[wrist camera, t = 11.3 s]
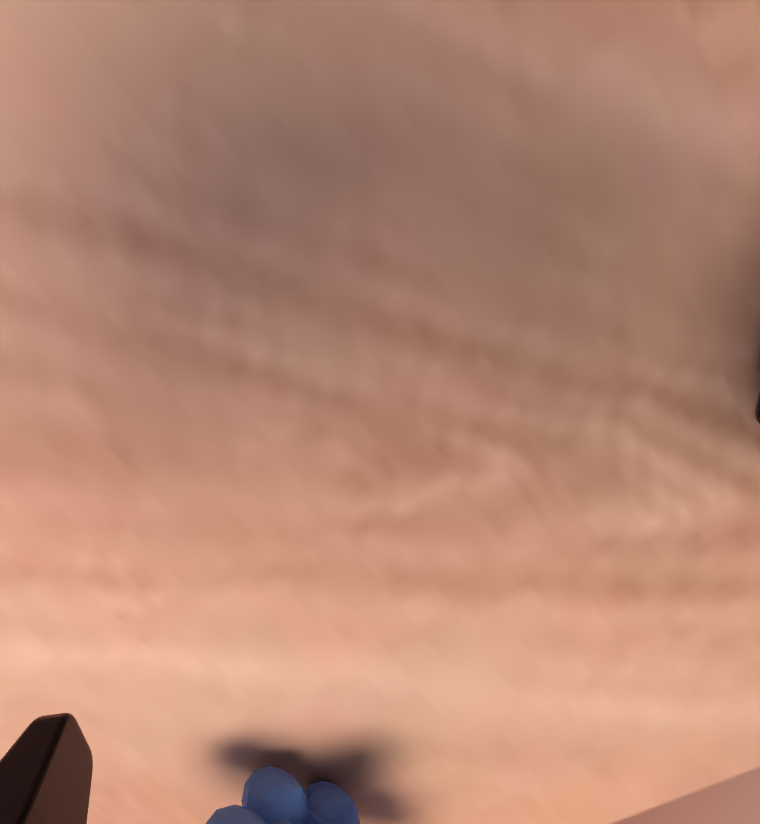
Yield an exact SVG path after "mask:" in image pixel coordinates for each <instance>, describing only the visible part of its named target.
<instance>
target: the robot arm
mask: <svg viewBox="0 0 760 824" xmlns="http://www.w3.org/2000/svg"><path fill="white" fill-rule="evenodd" d="M757 421H758V422H759V424H760V407H759V411H758V415H757ZM92 769H93V760H92V754H91V750H90V747H89V745H88V743H87V741H86V739H85V737H84V735H83V733H82V731H81V729H80V727H79V725H78V723H77V721H76V719H75V717H74V716H73V715H71V714H69V713H61V714H54V715H46V716H41V717H38V718H37V719H35V720H34V721H33V722H32V723H31V724H30V725H29V726H28V727H27V728H26V730H25V731H24V732H23V733H22V735H21V736H20V737H19V738H18V740H17V741H16V742H15V743H14V744H13V746H12V747H11V748H10V749H9V751H8V752H7V753H6V754H5V756H4V757H3V758H2V759H1V760H0V824H86V822H87V814H88V805H89V796H90V787H91V779H92Z"/></svg>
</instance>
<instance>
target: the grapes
mask: <svg viewBox="0 0 760 824" xmlns="http://www.w3.org/2000/svg"><path fill="white" fill-rule="evenodd" d="M206 824H360V820H359V814H358V809H357V806H356V804H355V801H354V800H353V799H352V797H351V796H350V795H349V793H347V792H346V791H345V790H343V789H342V788H341V787H340V786H338V785H336V784H333V783H329V782H326V781H320V782H316V783H313V784H309V785H308V786H307V788H306V789H305V790H304V789H303V787H302V785H301V784H300V782H299V781H298V779H296V778H295V777H294V776H293V775H291V774H290V773H289V772H288V771H286V770H283V769H280V768H276V767H273V766H268V767H264V768H261V769H257V770H255V771H254V772H253V774H252V775H251V776H250V777H249V779H248V780H247V781H246V782H245V786H244V791H243V796H242V806H239V805H231V806H228V807H225V808H221V809H218V810H216V811H215V813H214V814H213V815H212V816H211V818H210V819H209V820H208V821H207V823H206Z"/></svg>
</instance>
